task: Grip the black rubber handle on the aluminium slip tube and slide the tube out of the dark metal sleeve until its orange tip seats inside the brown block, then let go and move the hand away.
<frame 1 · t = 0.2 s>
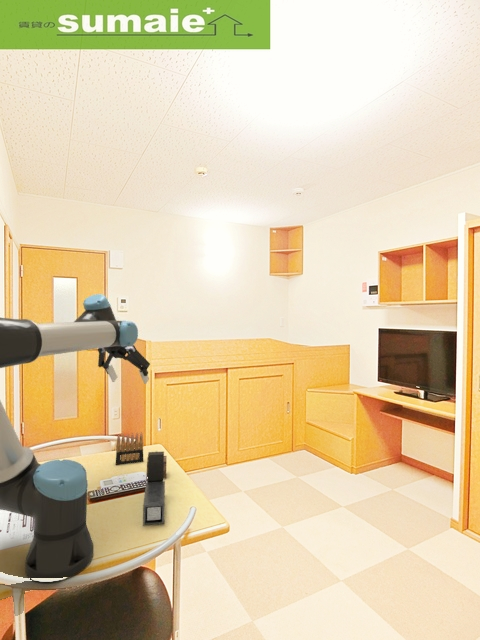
hand: (130, 380, 139), 35 cm above the table, tool tilted 35°, fingers open, 13 cm apart
sleeve: (154, 511, 114), on the table
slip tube: (155, 479, 118), point 8 cm above the table, slide at 0.0 cm
brown block: (156, 475, 138), on the table
ammunition clip: (129, 463, 149), on the table
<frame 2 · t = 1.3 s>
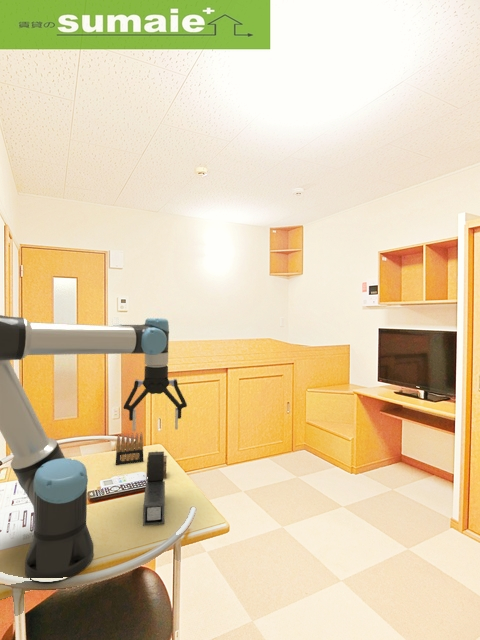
hand: (155, 429, 122), 23 cm above the table, tool pointing down, fingers open, 13 cm apart
nothing on the table moved.
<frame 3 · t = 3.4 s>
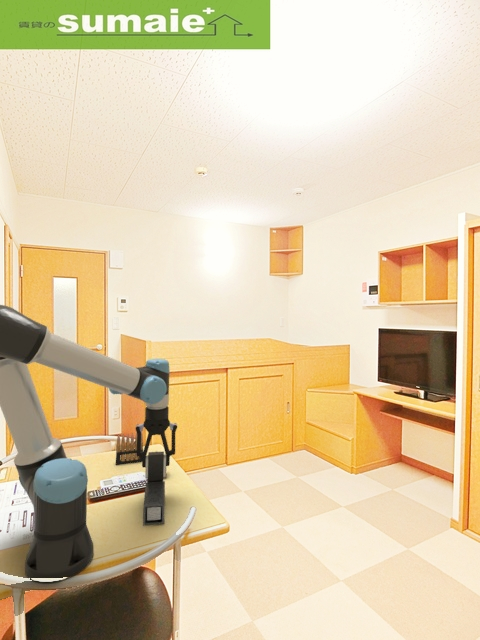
hand: (155, 475, 122), 7 cm above the table, tool pointing down, fingers closed on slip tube, 5 cm apart
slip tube: (155, 479, 118), point 8 cm above the table, slide at 0.0 cm, touching gripper
everything else where it was.
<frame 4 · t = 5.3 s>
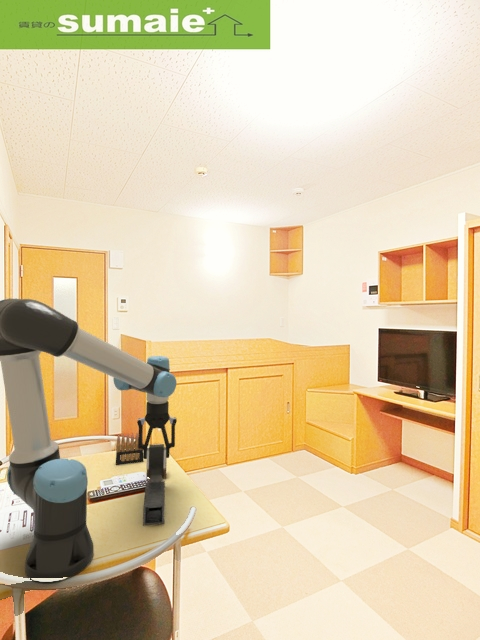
hand: (156, 467, 129), 7 cm above the table, tool pointing down, fingers closed on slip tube, 5 cm apart
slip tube: (155, 470, 124), point 8 cm above the table, slide at 6.8 cm, touching gripper
everything else where it was.
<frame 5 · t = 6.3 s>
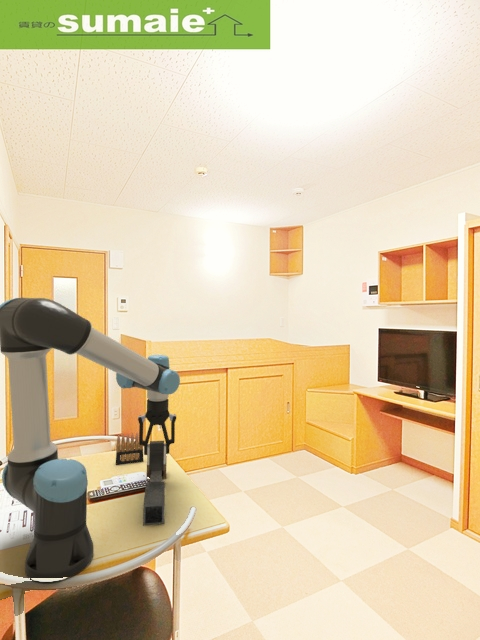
hand: (156, 462, 132), 7 cm above the table, tool pointing down, fingers closed on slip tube, 5 cm apart
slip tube: (156, 466, 128), point 8 cm above the table, slide at 10.2 cm, touching gripper
everything else where it was.
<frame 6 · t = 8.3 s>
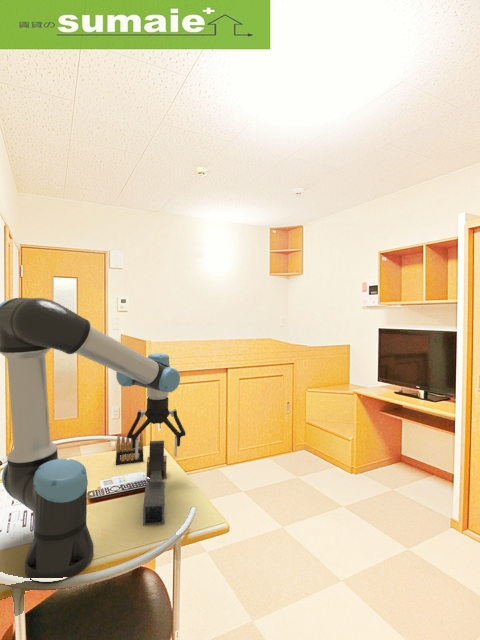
hand: (156, 456, 132), 10 cm above the table, tool pointing down, fingers open, 13 cm apart
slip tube: (156, 466, 128), point 8 cm above the table, slide at 10.3 cm
everything else where it was.
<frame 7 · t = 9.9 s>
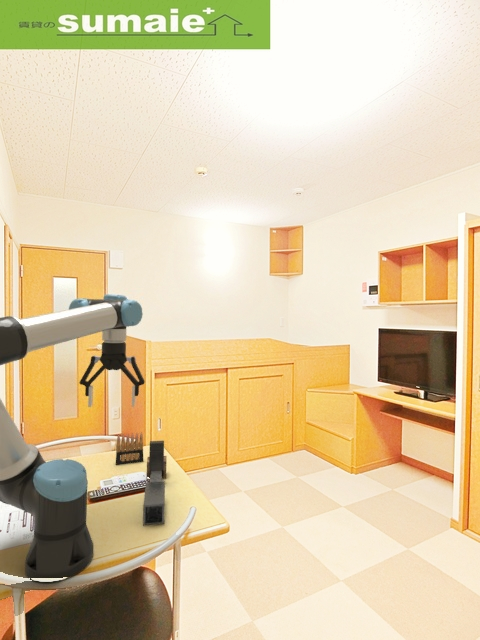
hand: (112, 405, 122), 30 cm above the table, tool pointing down, fingers open, 13 cm apart
nothing on the table moved.
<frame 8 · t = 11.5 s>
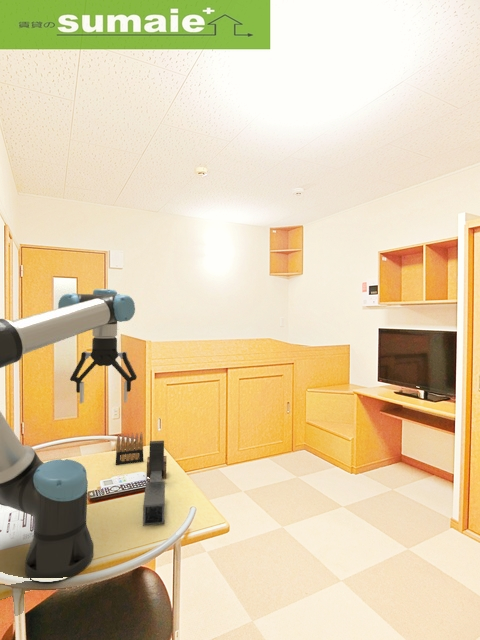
hand: (103, 402, 120), 32 cm above the table, tool pointing down, fingers open, 13 cm apart
nothing on the table moved.
at the end: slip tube slide at 10.3 cm; the gripper is holding nothing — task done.
